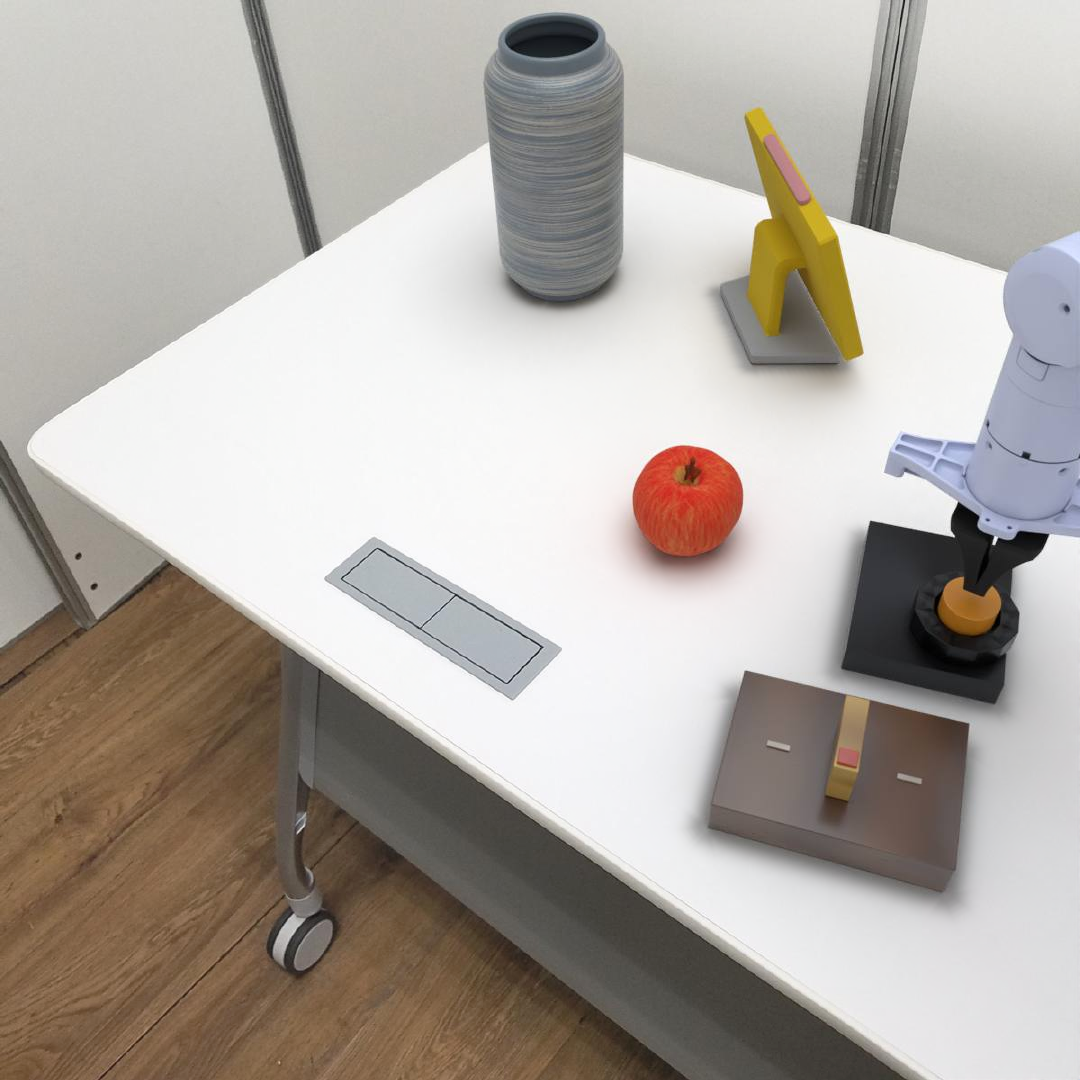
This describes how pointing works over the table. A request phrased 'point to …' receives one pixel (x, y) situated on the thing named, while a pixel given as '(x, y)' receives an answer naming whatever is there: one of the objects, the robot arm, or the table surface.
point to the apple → (687, 500)
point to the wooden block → (847, 748)
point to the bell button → (968, 609)
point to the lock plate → (879, 791)
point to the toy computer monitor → (791, 269)
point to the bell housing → (922, 617)
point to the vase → (557, 153)
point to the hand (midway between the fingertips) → (977, 582)
